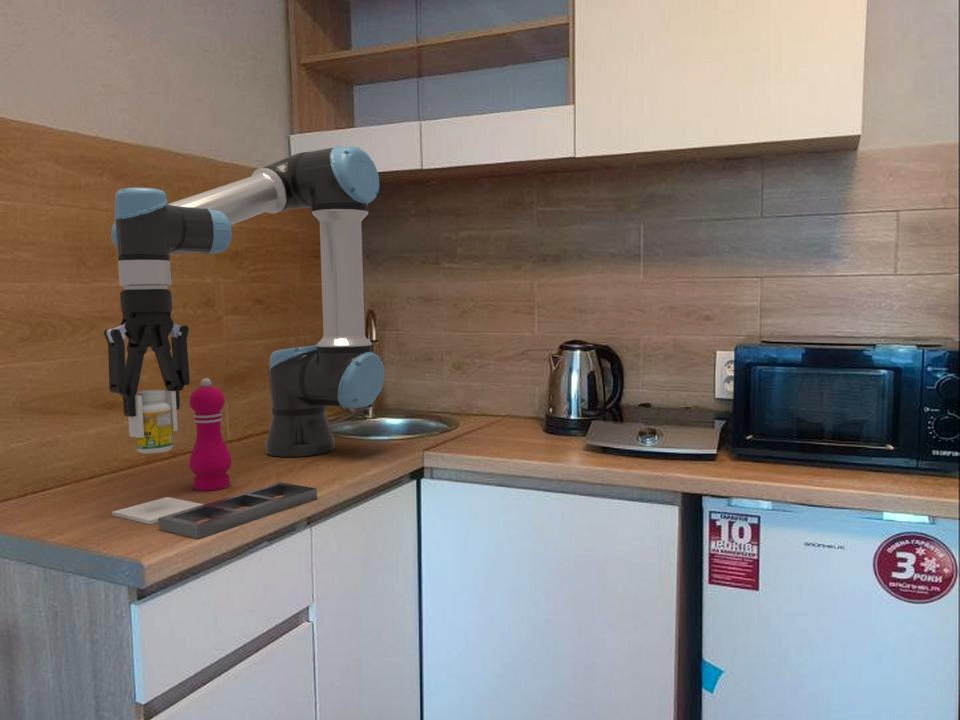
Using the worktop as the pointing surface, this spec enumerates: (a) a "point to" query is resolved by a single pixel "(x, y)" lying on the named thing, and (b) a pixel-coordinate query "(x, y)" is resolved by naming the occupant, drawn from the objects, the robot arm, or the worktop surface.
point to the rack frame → (230, 516)
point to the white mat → (154, 509)
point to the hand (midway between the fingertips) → (153, 433)
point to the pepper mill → (209, 440)
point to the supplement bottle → (155, 423)
